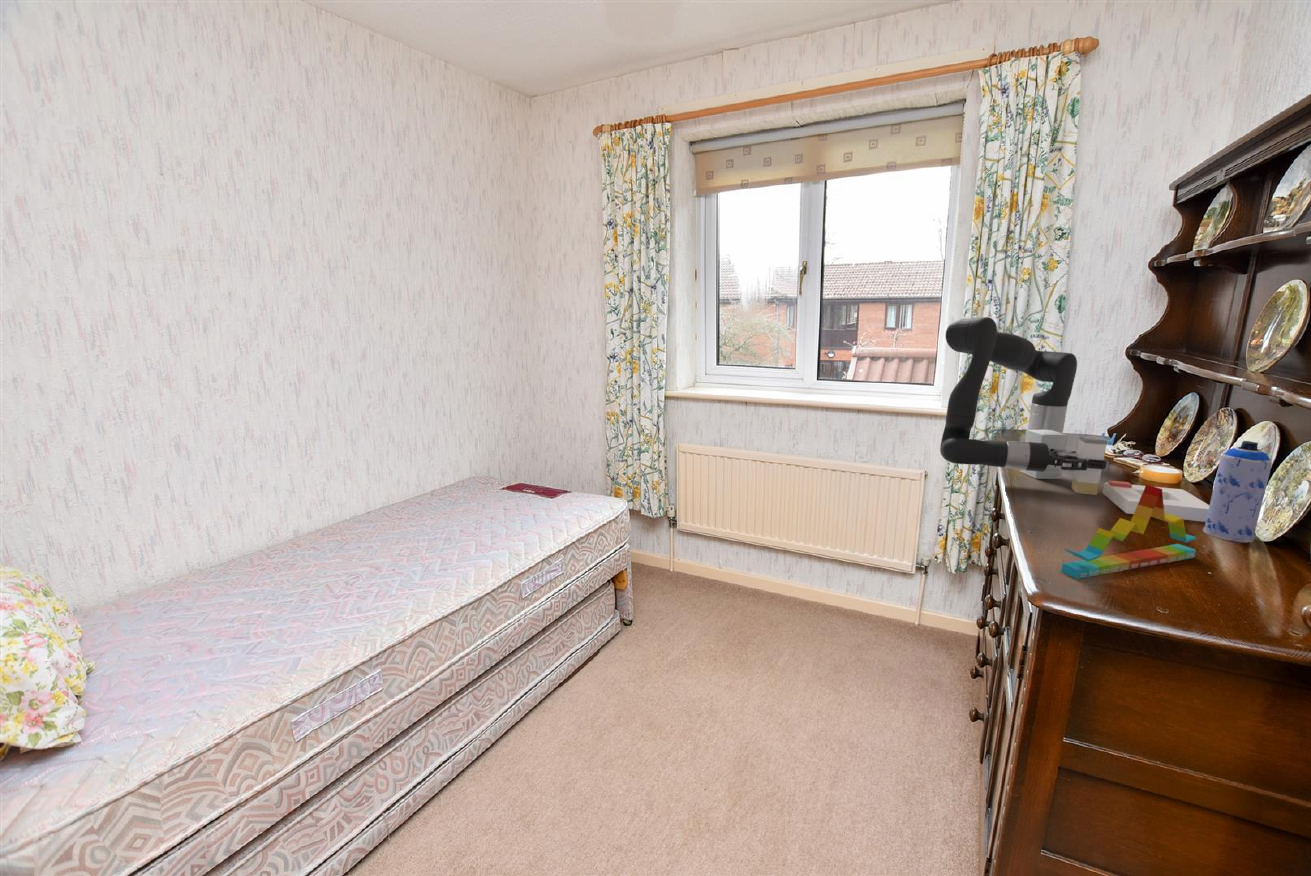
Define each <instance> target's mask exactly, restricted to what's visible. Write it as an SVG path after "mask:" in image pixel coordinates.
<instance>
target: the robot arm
mask: <svg viewBox="0 0 1311 876" xmlns="http://www.w3.org/2000/svg"><path fill="white" fill-rule="evenodd" d="M945 340H946V343H947V345H948V347H950V349H952V350H953V351H954V352H955V353H963V354H967V355H968V354H969V355H972V356H971V360H970V363H969V365H968V368H967V369H966V371H965V372H964V374H963V376H962V377H961V378H960V379H959V381H958V383H957V384H956V385H955V386H954V388H952V389H953V390H952V391H951V392H950V395H949V398H948V404H947V409H946V417H945V425H944V429H943V433H942V437H941V441H940V447H939V450H940V455H941V457H942V458H943V459H944V460H945V461H947V462H949V463H952V464H957V465H980V466H981V465H982V466H987V467H994V468H1005V469H1006V468H1007V469H1011V470H1016V471H1017V470H1018V471H1019V470H1027V471H1038V472H1043V471H1045V470H1046V468H1047V466H1048V465H1054V467H1056V468H1061V469H1062V471H1075V470H1084V471H1085V470H1087V469H1088V468H1093V469H1102V470H1105V469H1106V468H1107V463H1108V462H1107V460H1105V459H1104V460H1094V459H1087V458H1079V457H1078V456H1077V454H1078V451H1076V450H1073V451H1072V450H1058V449H1053V448H1052V449H1050V451H1049V448H1048V445H1047V444H1045V443H1034V442H1025V441H1022V440H1021V441H1019V440H1017V441H1016V440H1015V441H1014V440H1011V441H1010V440H1009V441H1008V440H1007V441H1006V440H995V439H985V440H979V439H972V438H970V436H971V431H972V428H973V427H974V425H975V419H976V415H977V409H978V402H979V396H980V393H981V392H980V391H981V389H982V385H983V382H984V379H985V376H986V374H987V372H988V367H989V365H990V363H994V364H996V365H998V366H1001V367H1003V368H1007V369H1010V370H1013V371H1017V372H1022V373H1023V374H1026V375H1027V376H1029V377H1031V378H1032V379H1035V380H1037V381H1039V382H1045V383H1046V382H1048V383H1052V385H1051V388H1049V389H1048V390H1046V391H1040V392H1038V393H1037V392H1036V393H1034V394H1033V395H1032V400H1031V405H1030V410H1029V411H1030V412H1029V417H1028V418H1029V419H1028V425H1027V430H1053V431H1056V432H1059V433H1063V434H1064V430H1065V429H1064V428H1065V422H1066V417H1067V416H1066V415H1067V409H1068V405H1069V404H1068V403H1069V399H1070V398H1071V394H1072V391H1073V386H1074V382H1075V378H1076V374H1077V368H1078V360H1077V356H1076V355H1075V354H1073V353H1072V352H1071V353H1070V352H1061V351H1045V350H1043V351H1042V350H1036V347H1035V345H1034V343H1032V342H1031V340H1028V339H1027V338H1025V337H1022V336H1019V335H1017V334H1015V333H1014V334H1012V333H1007V332H999V331H998V326H997V324H996V322H995V320H994V319H993V318H991V317H988V316H981V317H965V318H964V317H963V318H959V319H956V320H954V321H953V322H951V323H949V325H948V326H947V329H946V331H945ZM1079 463H1082V465H1078V464H1079Z"/></svg>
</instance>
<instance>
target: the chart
mask: <svg viewBox="0 0 1311 876" xmlns="http://www.w3.org/2000/svg"><path fill="white" fill-rule="evenodd" d="M1144 486H1145V489H1144V491H1143V493H1142V496H1141V498H1140V501H1139V503H1138V505H1137V508H1136V510H1135V512H1134V514H1132V517H1131V519H1130V520H1127V519H1124V518H1121V517H1120V518H1118V520H1117V522H1115V524H1114V525H1113V526H1112V528H1111V529H1110V530H1106V529H1104V528H1100V527H1099V528H1097V530H1096V532H1095V533H1094V535H1093V537H1092V538H1091V540H1090V541H1089V542H1088V544H1087V546H1086V548H1085V549H1083V550H1080V551H1078V552H1075V551H1073V550H1070V549H1067V548H1065V549H1064V551H1065V552H1067V553H1069V554H1071V555H1072V556H1075V557H1076V558H1079V559H1081V560H1075V561H1069V562H1064V563H1062V565H1061V570H1060V572H1061V573H1063V574H1066V575H1067V576H1070V577H1071V578H1075V579H1077V580H1080V579H1084V578H1089V577H1095V576H1100V575H1102V576H1103V575H1105V574H1106V575H1107V574H1111V573H1113V574H1114V573H1117V572H1122V571H1127V570H1128V571H1129V570H1134V569H1140V568H1145V567H1150V566H1156V565H1160V564H1161V565H1162V564H1167V563H1171V562H1177V561H1179V562H1180V561H1183V560H1189V559H1193V558H1195V557H1196V549H1195V548H1192V547H1189V546H1187V545H1183V544H1180V543H1175V544H1169V545H1164V546H1159V547H1151V548H1145V549H1139V550H1134V551H1128V552H1123V553H1122V552H1121V553H1117V554H1111V555H1103V556H1102V554H1103V553H1104V551H1105V550H1106V548H1107V546H1108V544H1109V543H1110V542H1111V540H1112V539H1114V540H1118V541H1120V542H1124V540H1125V539H1126V538H1127V536H1128V535H1129V534H1130V532H1134V533H1138V534H1140V535H1144V534H1145V532H1146V530H1147V529H1146V528H1147V526H1148V524H1149V521H1150V519H1151V518H1154V519H1157V520H1160V521H1163V522H1166V523H1167V524H1168V525H1167V526H1168V530H1169V536H1170V538H1171V539H1174V540H1176V541H1177V540H1178V541H1181V542H1183V543H1189V542H1192V541H1194V540H1196V539H1197V536H1193V535H1190V534H1188V533H1186V528H1185V520H1183V518H1181V517H1178V516H1174V515H1171V514H1168V513H1167V514H1164V504H1163V494H1162V489H1160V488H1156V487H1157V486H1152V485H1149V484H1146V485H1144Z"/></svg>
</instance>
